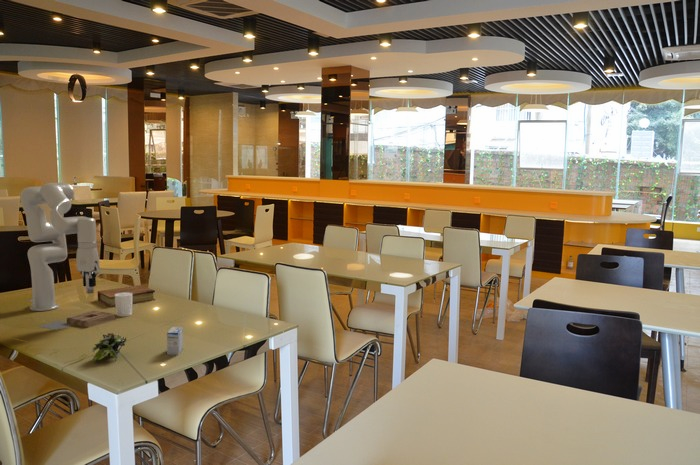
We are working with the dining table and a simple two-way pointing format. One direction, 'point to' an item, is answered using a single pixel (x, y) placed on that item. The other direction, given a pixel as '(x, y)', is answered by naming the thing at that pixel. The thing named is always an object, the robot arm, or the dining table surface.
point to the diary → (138, 292)
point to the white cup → (123, 304)
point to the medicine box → (174, 340)
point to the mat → (56, 325)
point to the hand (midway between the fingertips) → (89, 285)
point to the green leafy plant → (108, 346)
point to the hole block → (90, 318)
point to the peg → (88, 289)
